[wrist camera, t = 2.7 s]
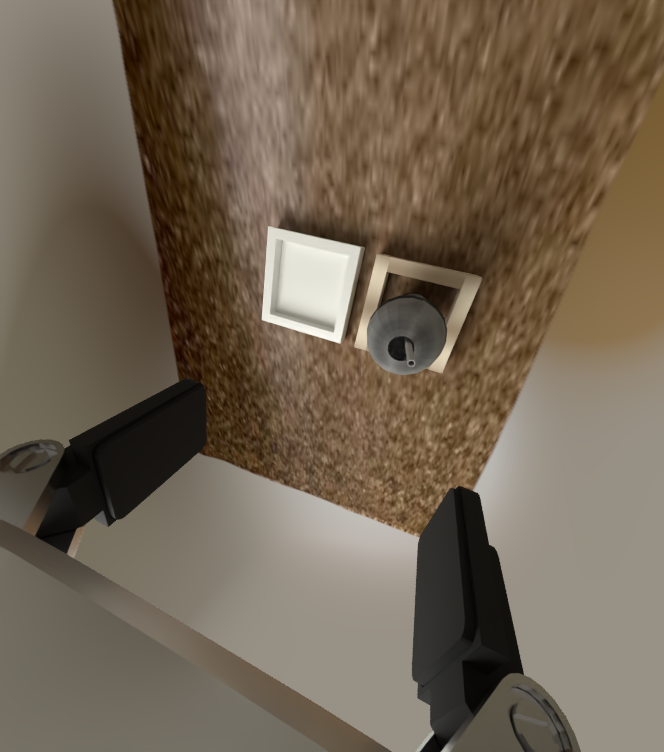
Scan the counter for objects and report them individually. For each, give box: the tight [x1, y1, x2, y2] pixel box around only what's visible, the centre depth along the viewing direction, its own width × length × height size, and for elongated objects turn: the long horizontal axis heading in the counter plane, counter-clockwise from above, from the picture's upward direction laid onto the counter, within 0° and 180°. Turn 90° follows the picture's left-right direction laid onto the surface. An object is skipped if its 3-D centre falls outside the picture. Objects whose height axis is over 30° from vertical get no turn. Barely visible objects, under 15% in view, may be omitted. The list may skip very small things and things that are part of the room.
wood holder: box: [354, 254, 482, 373], centre depth 34 cm, size 12×12×3 cm
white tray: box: [262, 226, 365, 343], centre depth 37 cm, size 12×12×2 cm
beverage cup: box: [367, 294, 447, 375], centre depth 27 cm, size 7×7×20 cm
